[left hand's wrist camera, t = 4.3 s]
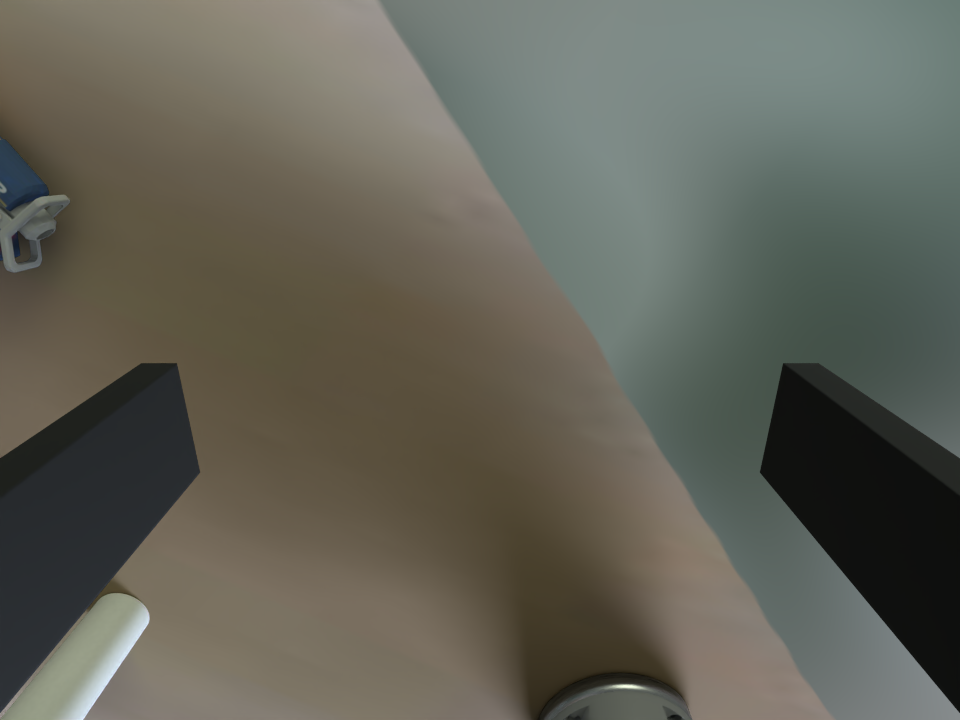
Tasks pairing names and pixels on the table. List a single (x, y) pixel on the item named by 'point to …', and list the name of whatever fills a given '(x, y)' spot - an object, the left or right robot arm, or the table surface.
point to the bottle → (83, 662)
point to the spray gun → (24, 209)
